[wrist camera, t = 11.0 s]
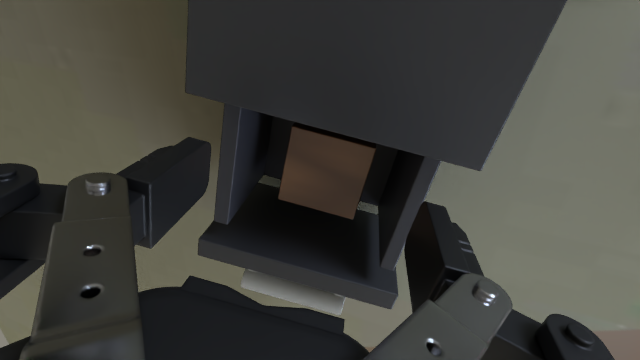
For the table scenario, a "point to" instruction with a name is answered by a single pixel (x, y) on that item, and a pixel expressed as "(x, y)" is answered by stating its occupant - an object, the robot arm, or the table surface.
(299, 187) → the block
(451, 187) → the table surface
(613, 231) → the table surface
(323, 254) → the drawer
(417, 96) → the cabinet
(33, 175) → the robot arm
